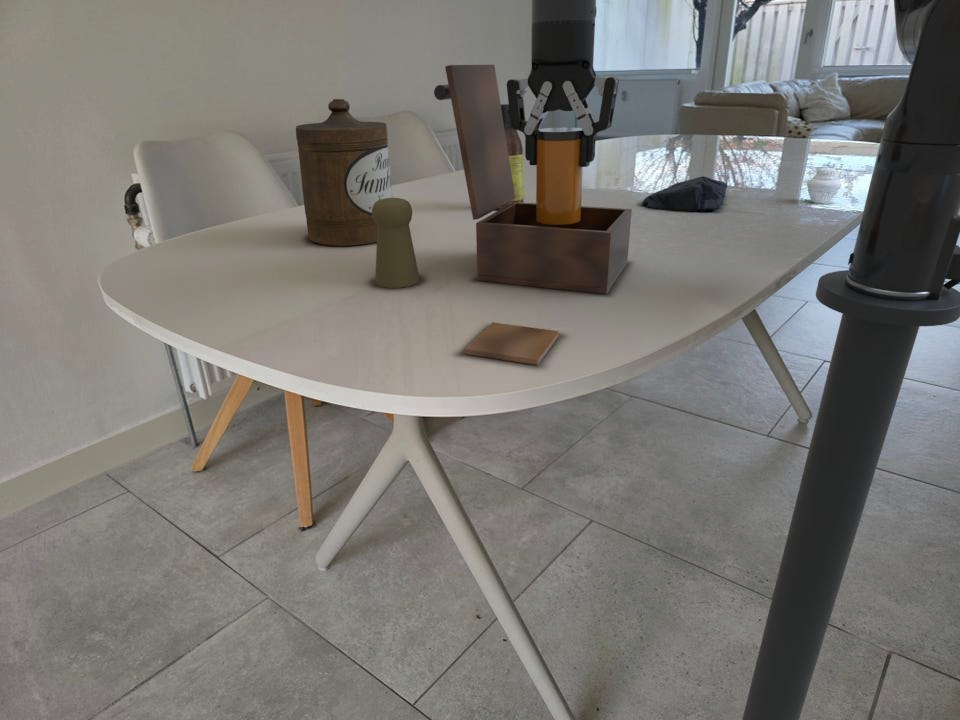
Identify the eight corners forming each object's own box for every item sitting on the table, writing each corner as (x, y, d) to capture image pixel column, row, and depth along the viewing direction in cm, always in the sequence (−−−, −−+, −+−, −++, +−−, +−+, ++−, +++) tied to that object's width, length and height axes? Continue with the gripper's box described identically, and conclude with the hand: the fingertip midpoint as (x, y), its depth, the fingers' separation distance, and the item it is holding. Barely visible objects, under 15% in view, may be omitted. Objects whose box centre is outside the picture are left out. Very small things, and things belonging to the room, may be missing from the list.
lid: (494, 64, 86) (462, 72, 88) (450, 64, 74) (414, 73, 76) (515, 198, 92) (485, 202, 94) (478, 219, 80) (444, 223, 82)
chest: (627, 263, 90) (631, 208, 87) (606, 294, 78) (611, 232, 74) (512, 252, 96) (513, 201, 93) (477, 280, 84) (475, 223, 81)
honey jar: (586, 216, 85) (589, 127, 80) (574, 226, 80) (578, 132, 75) (542, 214, 88) (543, 127, 83) (529, 223, 82) (529, 131, 77)
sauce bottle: (528, 206, 128) (530, 102, 119) (516, 212, 123) (516, 104, 114) (500, 204, 131) (499, 102, 122) (486, 209, 126) (485, 103, 117)
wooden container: (379, 247, 100) (366, 100, 91) (294, 245, 103) (272, 101, 93) (405, 226, 113) (396, 96, 104) (329, 224, 116) (314, 97, 106)
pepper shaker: (416, 272, 88) (411, 193, 83) (422, 285, 82) (417, 201, 78) (373, 276, 86) (366, 196, 82) (376, 289, 81) (368, 204, 76)
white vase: (819, 198, 130) (826, 163, 127) (844, 203, 125) (852, 167, 122) (796, 200, 128) (803, 165, 125) (820, 206, 123) (828, 169, 120)
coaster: (559, 336, 66) (559, 331, 66) (537, 365, 60) (537, 359, 59) (492, 327, 69) (492, 322, 68) (465, 354, 62) (465, 348, 62)
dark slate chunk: (737, 194, 135) (740, 172, 133) (716, 214, 118) (720, 188, 116) (666, 189, 142) (669, 168, 140) (637, 207, 125) (640, 183, 123)
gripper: (495, 21, 73) (497, 168, 80) (617, 13, 68) (608, 171, 75) (516, 24, 79) (516, 160, 86) (629, 17, 74) (620, 162, 81)
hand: (559, 164), depth 81 cm, fingers closed on honey jar, 6 cm apart
